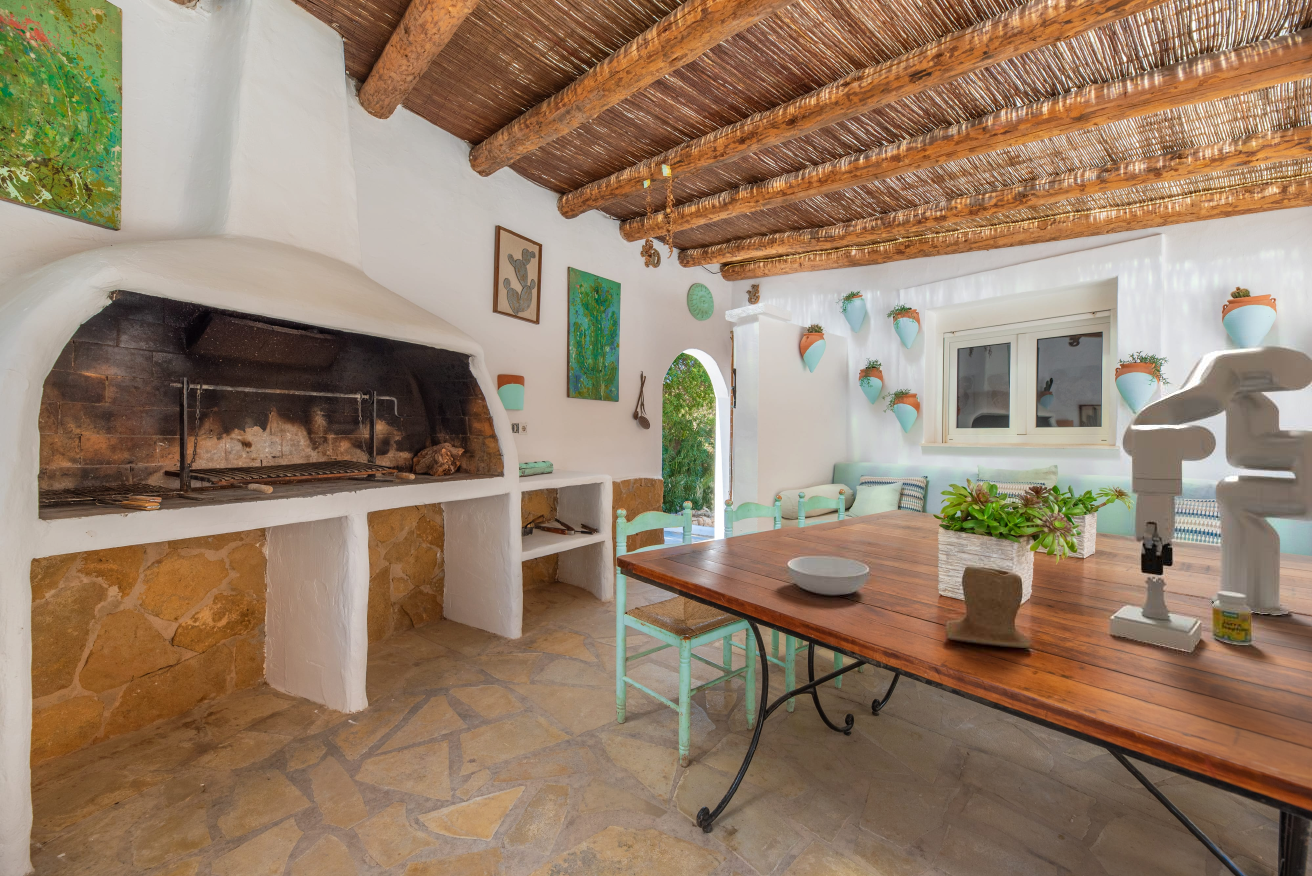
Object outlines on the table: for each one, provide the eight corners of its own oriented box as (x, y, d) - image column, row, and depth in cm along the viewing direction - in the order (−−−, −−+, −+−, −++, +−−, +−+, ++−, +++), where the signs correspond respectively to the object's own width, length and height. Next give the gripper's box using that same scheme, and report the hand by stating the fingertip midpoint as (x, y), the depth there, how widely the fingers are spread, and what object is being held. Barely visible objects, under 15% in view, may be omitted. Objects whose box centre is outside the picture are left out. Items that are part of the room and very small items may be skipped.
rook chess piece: (1140, 611, 113) (1140, 574, 113) (1169, 616, 110) (1169, 577, 110) (1141, 617, 110) (1141, 578, 110) (1171, 622, 107) (1171, 582, 107)
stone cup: (1018, 634, 111) (1018, 563, 111) (1037, 657, 100) (1038, 578, 100) (937, 626, 116) (937, 557, 116) (946, 646, 105) (947, 571, 105)
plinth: (1124, 621, 119) (1124, 604, 118) (1201, 638, 109) (1201, 618, 109) (1110, 634, 111) (1110, 615, 111) (1191, 653, 102) (1191, 632, 102)
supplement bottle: (1244, 639, 109) (1244, 592, 109) (1256, 648, 104) (1257, 599, 104) (1207, 634, 111) (1208, 588, 111) (1218, 643, 107) (1219, 595, 107)
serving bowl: (771, 585, 148) (771, 560, 148) (829, 576, 157) (829, 553, 157) (824, 607, 129) (824, 579, 129) (887, 596, 138) (887, 569, 138)
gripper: (1141, 482, 118) (1142, 558, 118) (1122, 489, 107) (1123, 573, 108) (1189, 484, 112) (1189, 565, 113) (1173, 492, 102) (1174, 581, 102)
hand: (1157, 569), depth 110 cm, fingers open, 9 cm apart
